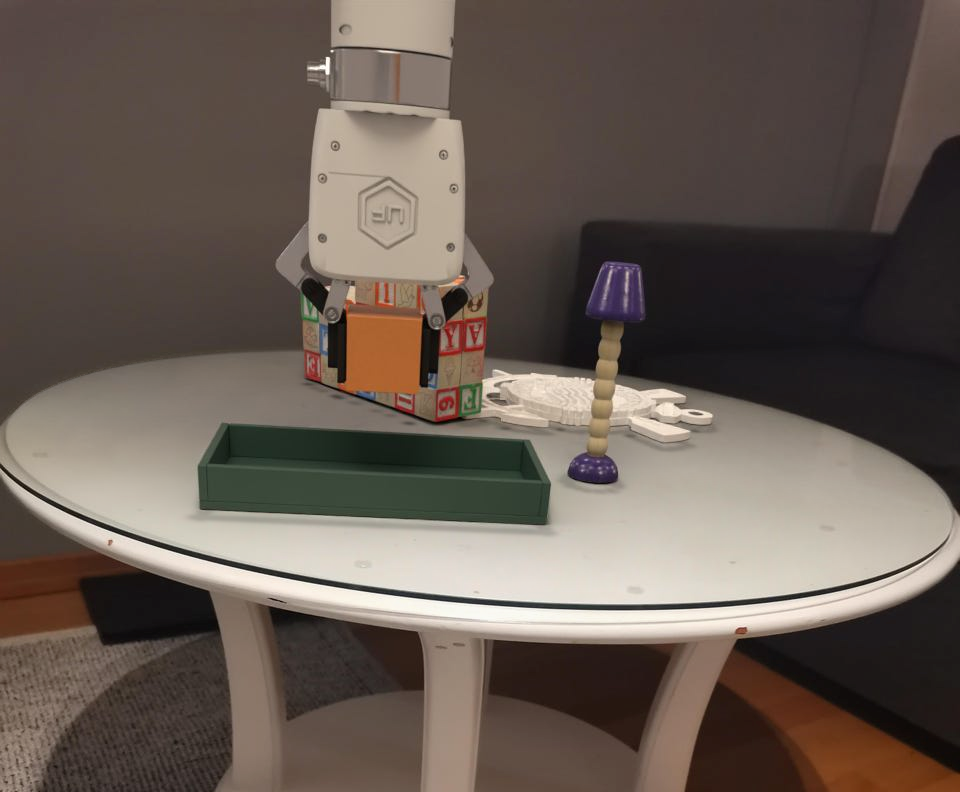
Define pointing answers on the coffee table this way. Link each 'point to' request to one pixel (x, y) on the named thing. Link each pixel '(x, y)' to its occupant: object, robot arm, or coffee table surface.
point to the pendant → (584, 405)
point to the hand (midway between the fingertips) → (382, 378)
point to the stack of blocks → (458, 351)
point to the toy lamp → (608, 361)
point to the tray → (373, 474)
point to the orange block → (383, 349)
